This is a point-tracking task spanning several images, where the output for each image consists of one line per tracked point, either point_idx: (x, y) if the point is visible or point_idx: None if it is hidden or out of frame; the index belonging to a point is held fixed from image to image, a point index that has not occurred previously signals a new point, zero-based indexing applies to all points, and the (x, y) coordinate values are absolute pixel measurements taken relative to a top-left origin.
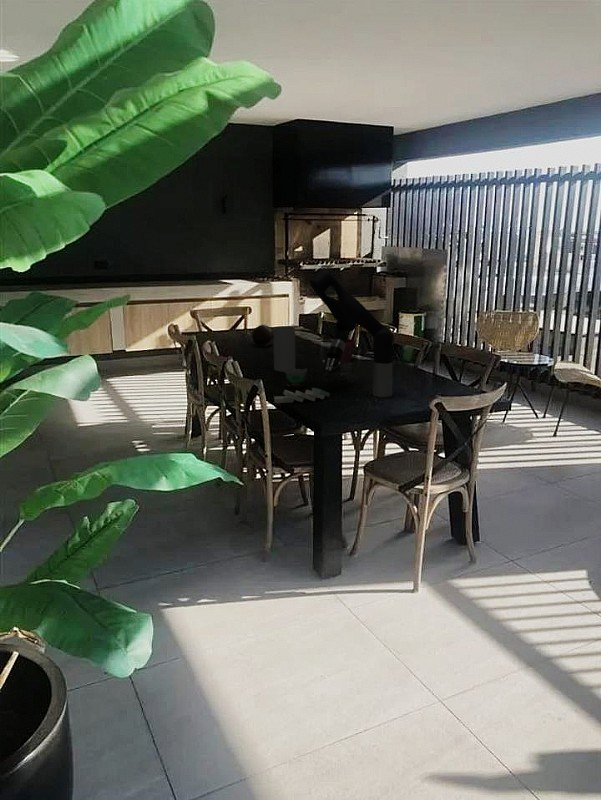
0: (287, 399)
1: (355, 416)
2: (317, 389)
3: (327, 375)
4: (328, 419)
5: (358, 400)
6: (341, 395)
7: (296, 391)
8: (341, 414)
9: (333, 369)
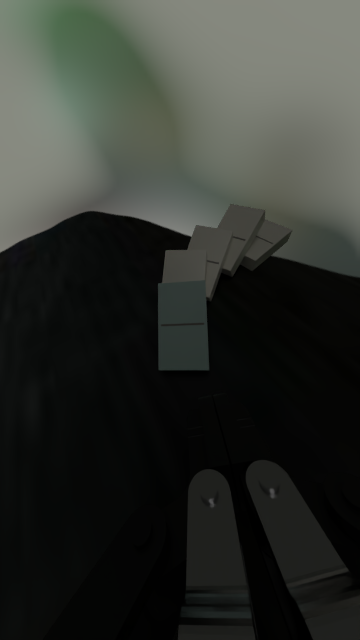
0: None
1: (27, 258)
2: (175, 283)
3: (199, 406)
4: (82, 223)
5: (26, 395)
6: (121, 433)
7: (228, 232)
8: (62, 253)
9: (140, 518)
